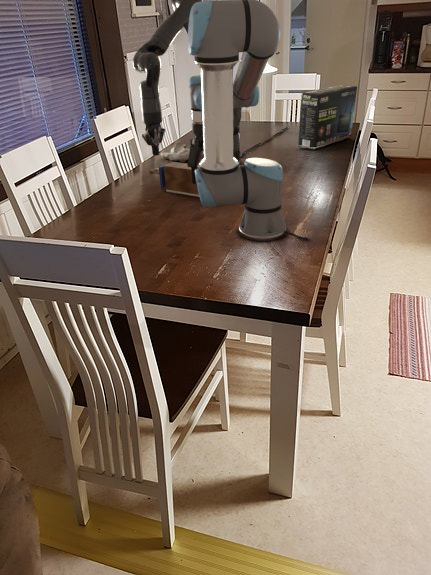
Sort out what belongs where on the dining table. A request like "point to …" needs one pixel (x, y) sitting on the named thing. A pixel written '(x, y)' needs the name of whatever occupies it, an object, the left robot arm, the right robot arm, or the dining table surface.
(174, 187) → the brown rectangular box
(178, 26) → the left robot arm
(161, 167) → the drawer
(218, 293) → the dining table surface
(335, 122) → the router box
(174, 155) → the fossil
